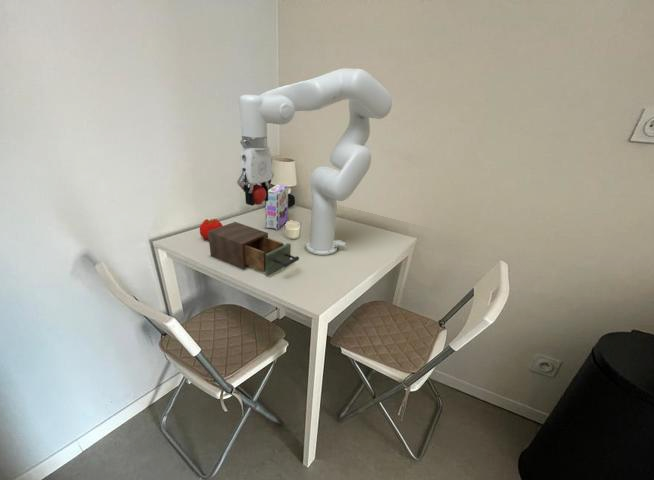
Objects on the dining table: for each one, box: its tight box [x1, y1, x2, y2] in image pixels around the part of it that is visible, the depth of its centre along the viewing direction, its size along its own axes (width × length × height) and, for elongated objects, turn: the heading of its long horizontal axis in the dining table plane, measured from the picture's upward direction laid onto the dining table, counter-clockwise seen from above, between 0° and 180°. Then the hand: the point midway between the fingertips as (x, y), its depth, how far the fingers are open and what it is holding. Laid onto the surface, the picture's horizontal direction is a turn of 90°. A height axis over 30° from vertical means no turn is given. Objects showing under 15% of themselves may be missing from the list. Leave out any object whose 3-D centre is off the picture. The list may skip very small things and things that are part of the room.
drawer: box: [244, 237, 300, 277], centre depth 120 cm, size 21×12×8 cm, turn 56°
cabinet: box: [208, 221, 269, 270], centre depth 127 cm, size 17×13×10 cm
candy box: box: [264, 184, 289, 230], centre depth 155 cm, size 14×6×16 cm, turn 164°
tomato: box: [199, 218, 224, 241], centre depth 140 cm, size 9×9×8 cm
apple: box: [252, 184, 266, 206], centre depth 111 cm, size 6×6×7 cm
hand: (257, 201), depth 113 cm, fingers closed on apple, 6 cm apart
